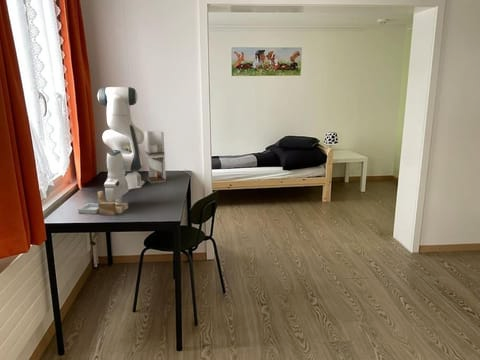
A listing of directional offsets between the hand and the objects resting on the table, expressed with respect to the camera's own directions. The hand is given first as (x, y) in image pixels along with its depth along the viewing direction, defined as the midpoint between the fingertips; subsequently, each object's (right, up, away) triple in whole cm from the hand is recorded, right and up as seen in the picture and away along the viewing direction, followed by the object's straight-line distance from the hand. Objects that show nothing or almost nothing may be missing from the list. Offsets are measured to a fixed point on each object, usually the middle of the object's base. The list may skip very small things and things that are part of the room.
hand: (118, 204), depth 209 cm
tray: (-12, -3, -7) cm, 14 cm away
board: (-1, -3, -6) cm, 6 cm away
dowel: (-11, -1, +3) cm, 11 cm away
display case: (+8, +13, +59) cm, 61 cm away
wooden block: (-2, -4, -12) cm, 13 cm away
